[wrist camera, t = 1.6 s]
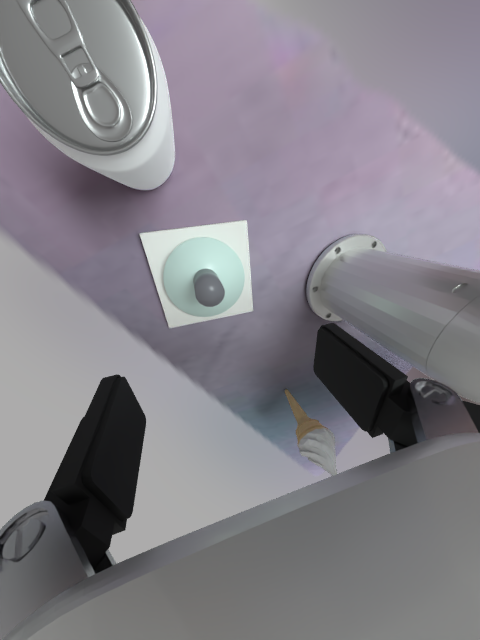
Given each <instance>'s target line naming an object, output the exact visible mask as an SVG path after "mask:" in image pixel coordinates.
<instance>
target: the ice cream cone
mask: <svg viewBox="0 0 480 640" xmlns="http://www.w3.org/2000/svg"><path fill="white" fill-rule="evenodd" d="M285 394H286V396H287V399H288V401H289V404H290V406H291V408H292V411H293V414H294V416H295V418H296V420H297V423H298V426H297V430H296V435H297V439H298V447H299V449H300V453H301V455H302V456H305V457H308V459H309V460H310V461H311V462H313V463H315V464H316V465H318V466H320V467H322V468H323V469H324V470H325V471H327V472H328V473H330V474H331V475H332V476H334V475H336V474H337V470H336V457H335V437H334V434H333V433H332V432H331V431H330V430H329V429H328V428H326V427H324V426H322V425H321V424H320V423H319V421H318V420H314V419H311V418H309V417H308V416H307V415H306V413H305V412H304V411H303V409H302V408H301V406H300V405H299V404H298V403H297V401H296V400H295V399H294V397H293V396H292V395H291V393H290V392H289V391H288V390H287V389H286V390H285Z"/></svg>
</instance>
